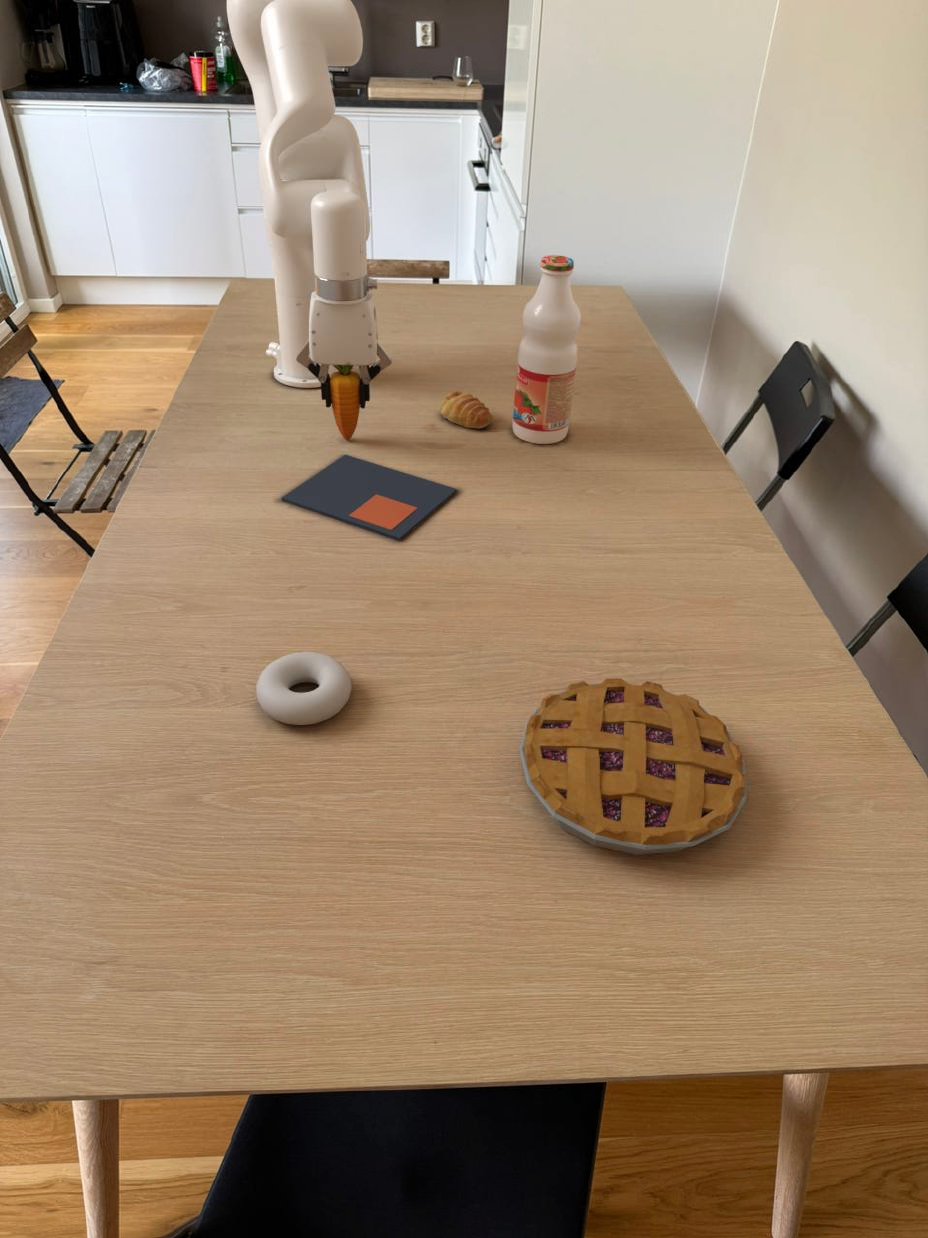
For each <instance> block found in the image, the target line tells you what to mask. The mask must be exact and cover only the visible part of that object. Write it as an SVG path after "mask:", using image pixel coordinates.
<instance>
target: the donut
mask: <svg viewBox="0 0 928 1238" xmlns="http://www.w3.org/2000/svg"><path fill="white" fill-rule="evenodd" d="M302 683H311V684H315V685H317V686H318V687H316V688H315V689H314V690H311V691H308V692H307V691H306V692H296V691H292V690H290V689H291V687H294V686H295V685H299V684H302ZM255 691H256V692H255V693H256V699H257V703H258V704H259V706H260V708H261V709H262V711H263V712H264V713H265V714H266V715H268V716H269V717H271V718H272V719H273V720H275V721H278V722H281V723H283V724H286V725H296V726H307V725H315V724H318V723H320V722H324V721H327V720H329V719H331V718H333V717H334V716H335V715H337V714H338V713H340V711H341V710H342V709H343V708H344V707H345V705H346V704H347V703H348V701H349V699H350V695H351V692H352V681H351V677H350V673H349V672H348V670H347V668H346V667H345V666H344V665H343V664H342V662H340V661H338V660H337V659H336V658H334V657H333V656H330V655H327V654H323V653H321V652H315V651H300V652H292V653H290V654H286V655H283V656H281V657H279V658H277V659H276V660H274V661H273V662H271V663H269V664H268V665H267V666H266V667H265V668H264V669H263V670H262V671H261V673H260V675H259V677H258V680H257V682H256V686H255Z"/></svg>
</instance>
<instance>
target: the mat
mask: <svg viewBox="0 0 928 1238" xmlns="http://www.w3.org/2000/svg"><path fill="white" fill-rule="evenodd" d="M457 492H458V489H457V488H456V487H452V486H448V485H445V484H442V483H439V482H435V481H432V480H429V479H427V478H426V479H425V478H423V477H419V476H416V475H413V474H410V473H407V472H404V471H401V470H397V469H393V468H390V467H387V466H384V465H381V464H377V463H374V462H371V461H368V460H365V459H361V458H357V457H355V456H351V455H348V454H344V455H342V456H340V457H339V458H337V459H336V460H334V461H333V462H332V463H331V464H329V465H328V466H326V467H325V468H323V469H321V470H320V471H319V472H317V473H315V474H314V475H313V476H311V477H310V478H308V479H307V480H306V481H304V482H303V483H301V484H300V485H298V486H296V487H295V488H293V489H292V490H290V491H289V492H288V493H286V494H285V495H283V496H281V498H280V499H281V501H282V502H285V503H288V504H291V505H293V506H296V507H300V508H303V509H306V510H308V511H310V512H311V511H312V512H314V513H317V514H321V515H323V516H326V517H329V518H332V519H335V520H338V521H341V522H344V523H346V524H349V525H352V526H356V527H359V528H361V529H364V530H368V531H370V532H373V533H376V534H379V535H381V536H384V537H388V538H391V539H392V540H393V539H394V540H396V541H399V542H400V541H402V539H404V538H406V536H407V535H408V534H409V533H411V532H412V531H413V530H414V529H416V528H417V527H418V526H419V525H421V523H422V522H423V521H425V520H426V519H427V518H428V517H429V516H431V514H433V513H434V512H435V511H436V510H438V509H439V508H440V507H441V506H442V505H444V503H446V502H447V501H448V500H449V499H450V498H452V497H453V496H454V495H455V494H456V493H457Z"/></svg>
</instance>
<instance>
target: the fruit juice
mask: <svg viewBox="0 0 928 1238" xmlns="http://www.w3.org/2000/svg"><path fill="white" fill-rule="evenodd" d="M539 267H540V271H541V278H540V280H539V285H538V287H537V289H536V292H535V294H534V295H533V297H531V299H530V300H529V301H528V302H527V303H526V304H525V306H524V308H523V312H522V315H521V325H522V326H521V327H522V331H523V335H522V339H521V341H520V343H519V348H518V353H517V361H516V363H517V364H516V374H515V375H516V376H515V386H514V387H515V388H514V396H513V397H514V399H513V411H512V421H511V422H512V423H511V425H512V432H513V434H514V436H516V437H517V438H519V439H520V440H522V441H524V442H527V443H530V444H531V443H532V444H537V445H551V444H556V443H559V442H561V441H563V440H564V439H566V437H567V435H568V431H569V428H570V419H571V411H572V403H573V396H574V388H575V381H576V380H575V378H576V372H577V364H578V344H577V342H576V340H577V336H578V333H579V331H580V328H581V324H582V314H581V310H580V308H579V306H578V304H577V302H576V301H575V300H574V297H573V293H572V288H571V287H572V286H571V274H573V271H574V268H575V262H574V259H573V258H571V257H569V256H565V255H557V254H553V255H552V254H551V255H545V256H542V258H541V260H540V266H539Z"/></svg>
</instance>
